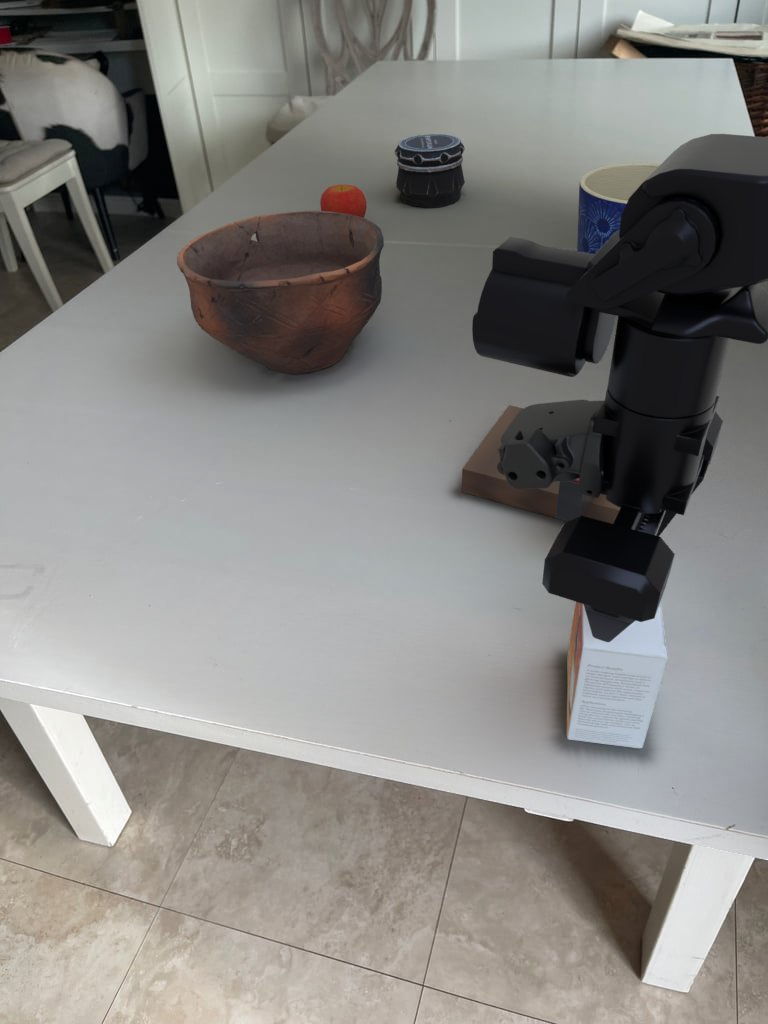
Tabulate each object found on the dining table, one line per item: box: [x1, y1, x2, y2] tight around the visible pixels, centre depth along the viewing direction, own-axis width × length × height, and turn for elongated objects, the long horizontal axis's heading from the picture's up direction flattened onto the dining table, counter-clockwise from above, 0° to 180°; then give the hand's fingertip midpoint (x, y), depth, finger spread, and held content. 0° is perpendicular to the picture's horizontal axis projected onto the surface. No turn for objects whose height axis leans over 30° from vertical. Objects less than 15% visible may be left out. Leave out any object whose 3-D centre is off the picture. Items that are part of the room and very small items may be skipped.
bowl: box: [176, 210, 385, 375], centre depth 102 cm, size 25×25×15 cm
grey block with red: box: [555, 478, 593, 522], centre depth 75 cm, size 10×2×5 cm, turn 152°
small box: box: [566, 600, 669, 749], centre depth 58 cm, size 8×6×10 cm
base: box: [461, 404, 620, 535], centre depth 80 cm, size 19×19×3 cm
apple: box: [319, 184, 367, 218], centre depth 138 cm, size 8×8×8 cm
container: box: [394, 133, 466, 209], centre depth 148 cm, size 13×13×10 cm
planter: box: [576, 162, 662, 254], centre depth 112 cm, size 17×17×15 cm
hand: (621, 591), depth 54 cm, fingers open, 9 cm apart
